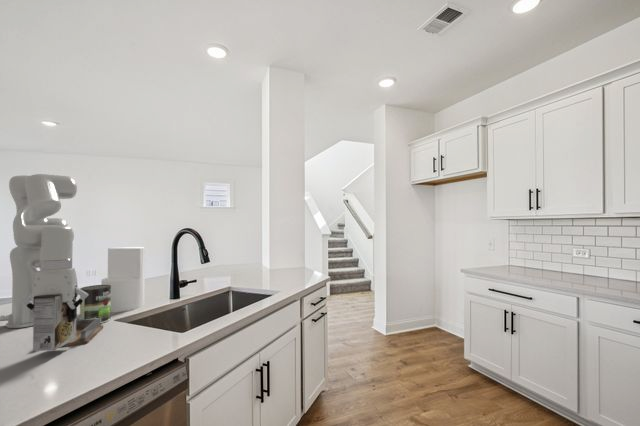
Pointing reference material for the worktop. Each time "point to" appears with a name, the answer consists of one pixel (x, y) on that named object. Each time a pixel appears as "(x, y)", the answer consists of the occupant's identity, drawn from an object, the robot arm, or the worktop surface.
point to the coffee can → (96, 303)
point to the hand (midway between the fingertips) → (55, 322)
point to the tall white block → (126, 277)
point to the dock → (86, 331)
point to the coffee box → (51, 323)
